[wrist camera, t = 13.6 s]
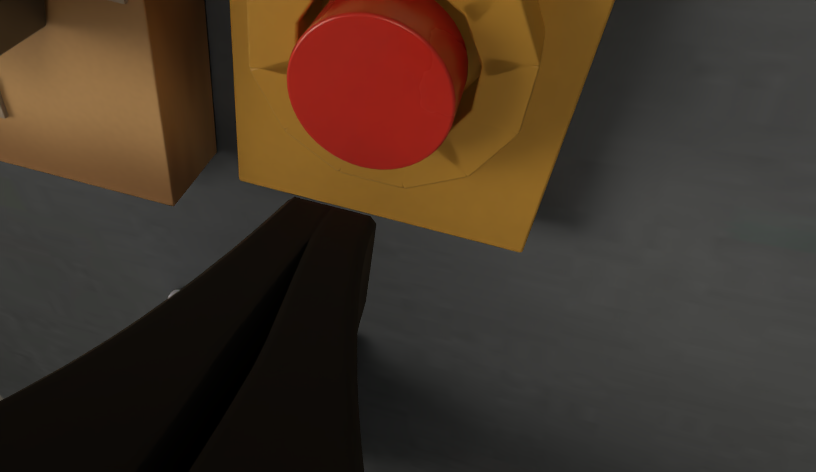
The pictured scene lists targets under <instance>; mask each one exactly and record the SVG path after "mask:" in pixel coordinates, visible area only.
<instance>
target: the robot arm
mask: <svg viewBox="0 0 816 472" xmlns="http://www.w3.org/2000/svg"><path fill="white" fill-rule="evenodd" d="M375 230H376V223H375V222H374V220H373V219H372V218H371V216H367V215H363V214H360V213H356V212H352V211H348V210H344V209H340V208H336V207H332V206H328V205H324V204H320V203H316V202H312V201H308V200H304V199H300V198H296V197H294V198H292V199H290V200H288V201H287V202H286V203H285V204H284V205H283V206H281V207H280V208H279V209H278V210H277V211H276V212H275V213H274V214H273V215H271V216H270V217H269V218H268V219H267V220H266V221H265V222H264V223H262V224H261V225H260V226H259V227H258V228H257V229H255V230H254V231H253V232H252V233H251V234H250V235H248V236H247V237H246V238H245V239H244V240H243V241H241V242H240V243H239V244H238V245H237V246H235V247H234V248H233V249H232V250H231V251H229V252H228V253H227V254H226V255H224V256H223V257H222V258H221V259H219V260H218V261H217V262H216V263H214V264H213V265H212V266H210V267H209V268H208V269H207V270H205V271H204V272H203V273H202V274H200V275H199V276H198V277H197V278H195V279H194V280H193V281H191V282H190V283H189V284H187V285H186V286H185V287H183V288H182V289H181V290H179V289H176V290H173V291H172V292H171V293H170V295H169V296H168V299H167V300H165V301H164V302H162V303H161V304H160V305H158V306H157V307H155V308H154V309H153V310H151V311H150V312H148V313H147V314H146V315H144V316H143V317H141V318H140V319H138V320H137V321H135V322H134V323H132V324H131V325H129V326H128V327H126V328H125V329H123V330H122V331H120V332H119V333H117V334H116V335H114V336H113V337H111V338H109V339H108V340H106V341H105V342H103V343H102V344H100V345H98V346H97V347H95V348H93V349H92V350H90V351H88V352H87V353H85V354H83V355H82V356H80V357H79V358H77V359H75V360H74V361H72V362H70V363H69V364H67V365H65V366H63V367H62V368H60V369H58V370H56V371H54V372H53V373H51V374H49V375H47V376H45V377H44V378H42V379H40V380H38V381H36V382H34V383H33V384H31V385H29V386H27V387H25V388H24V389H22V390H20V391H18V392H16V393H15V394H13V395H11V396H9V397H7V398H5V399H3V400H1V401H0V472H364V466H363V457H362V446H361V434H360V421H359V405H358V381H357V332H358V327H359V323H360V320H361V316H362V313H363V309H364V305H365V302H366V296H367V289H368V281H369V274H370V267H371V259H372V252H373V245H374V237H375Z"/></svg>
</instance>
